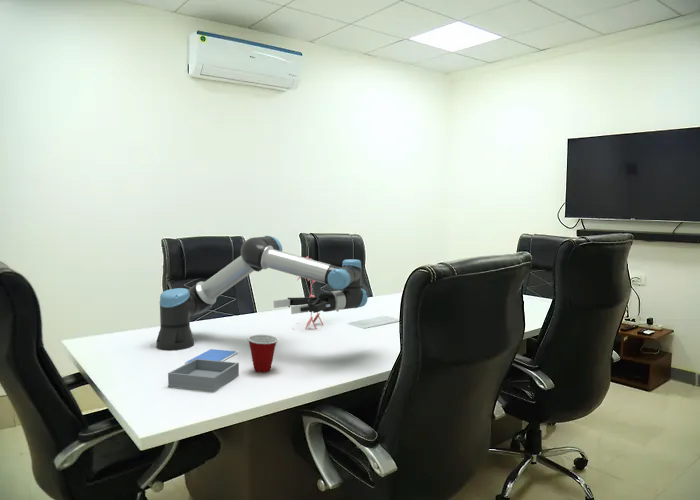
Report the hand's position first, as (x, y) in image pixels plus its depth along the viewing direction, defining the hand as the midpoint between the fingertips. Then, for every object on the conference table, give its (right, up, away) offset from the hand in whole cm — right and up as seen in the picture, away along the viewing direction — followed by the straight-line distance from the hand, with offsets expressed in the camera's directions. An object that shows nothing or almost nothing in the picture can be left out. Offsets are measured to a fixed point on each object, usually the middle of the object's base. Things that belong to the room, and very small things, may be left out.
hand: (282, 307), depth 185 cm
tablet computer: (-29, -22, +12) cm, 38 cm away
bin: (-24, -23, -14) cm, 36 cm away
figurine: (+3, -17, +67) cm, 70 cm away
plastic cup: (-7, -23, -2) cm, 24 cm away
